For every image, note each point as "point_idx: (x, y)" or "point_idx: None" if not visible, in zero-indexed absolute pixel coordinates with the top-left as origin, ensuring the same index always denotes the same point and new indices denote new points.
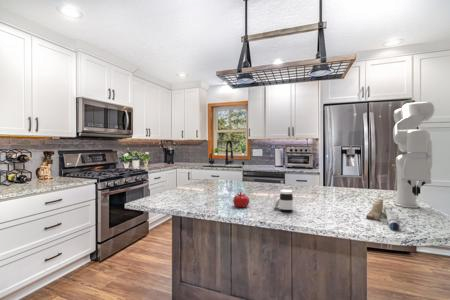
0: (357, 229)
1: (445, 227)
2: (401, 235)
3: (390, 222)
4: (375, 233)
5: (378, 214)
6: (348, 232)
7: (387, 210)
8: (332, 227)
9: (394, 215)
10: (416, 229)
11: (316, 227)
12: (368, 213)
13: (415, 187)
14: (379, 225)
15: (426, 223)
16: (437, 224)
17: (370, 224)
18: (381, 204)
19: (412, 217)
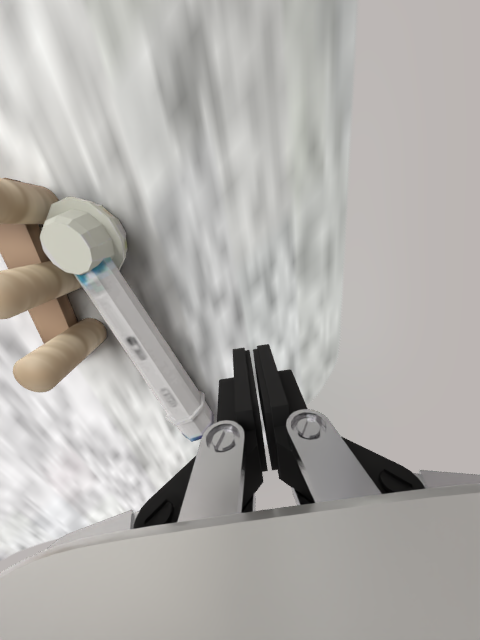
0: (120, 481)
1: (345, 234)
2: None
3: (181, 430)
4: (172, 477)
5: (91, 350)
6: (119, 513)
7: (103, 314)
8: (64, 510)
9: (159, 347)
10: (253, 355)
11: (39, 535)
12: (29, 310)
13: (262, 471)
14: (144, 401)
15: (273, 224)
16: (316, 202)
17: (117, 412)
18: (4, 216)
19: (195, 134)
